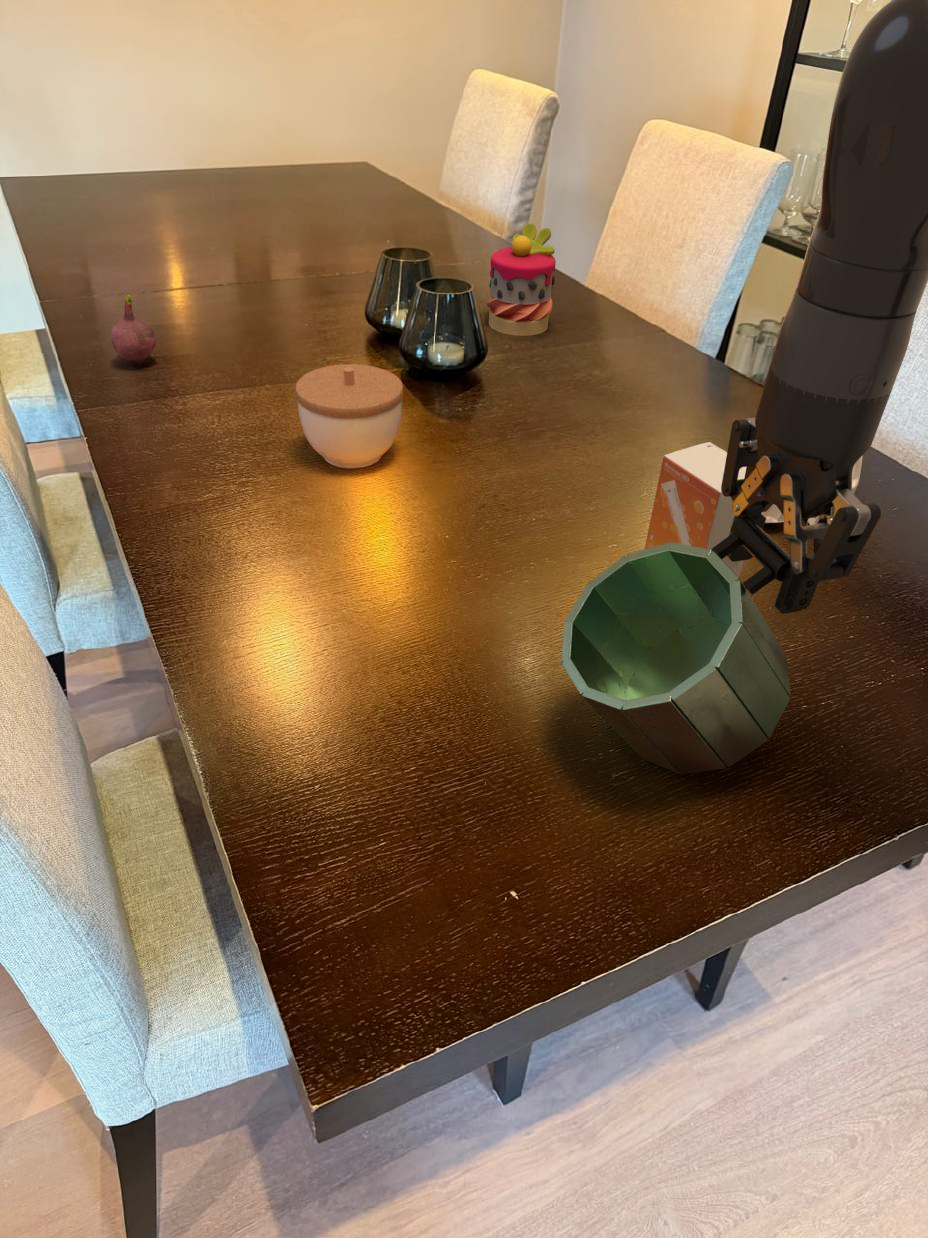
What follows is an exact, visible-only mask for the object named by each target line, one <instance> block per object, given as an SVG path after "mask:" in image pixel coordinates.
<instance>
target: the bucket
mask: <svg viewBox="0 0 928 1238" xmlns="http://www.w3.org/2000/svg"><path fill="white" fill-rule="evenodd" d="M741 545H742V546H743V547H744V548H745V549H746V550H747V551H748V552H749V553H750V554H751V555H752V556H753V557H752V558H754V559H755V560H756V561H757V562H758V563H759V564H760V565H761V566H762V568H761V569H760V570H759V571H757V572H756V573H754V574H753V575H752V576H750V577H748V578H747V579H746V580H744V581H743V582H742V580H741V579H740V576H739V577H738V576H737V575H736V574H735V573H734V572H733V571H732V570H731V569H730V568H729V567H728V566H727V565H726V563H725V562H724V561H723V560H722V559H723V558H724V557H726V556H727V555H728V554H730V553H731V552H733V551H734V550H735V549H737V548H738V547H739V546H741ZM787 567H790V553H788V552H787V551H786V550H784V548H782V546H780V545H779V544H778V543H777V542H776V541H775V540H774V539H773V538H772V537H771V536H770V535H769V534H768V533H766V531H764V529H763V530H762V529H761V528H760V527H759V526H758V525H757V524H756V523H755V522H754V521H753V520H752V519H751V518H749V517H741V518H739V519H737V520H736V521H735V522H734V523H733V524H732V526H731V535H730V536H728V537H727V538H725V539H724V540H723V541H721V542H720V543H719V544H717V545H716V546H715V547H713V548H712V549H711V550H709V549H704V548H699V547H693V546H688V545H683V544H678V543H673V542H672V543H671V544H670V543H666V544H662V545H659V546H655V547H651V548H648V549H645V548H644V549H641V550H637V551H633V552H630V553H627V554H626V555H623V556H621V557H620V558H619V559H618V560H616V561H615V562H614V563H612V564H611V565H610V566H608V567H607V568H606V569H605V570H603V571H602V572H600V573H599V574H598V575H596V576H595V577H594V578H592V580H590V581H589V582H588V584H586V585H585V586H584V588H583V589H582V591H581V593H580V595H579V597H578V598H577V600H576V601H575V603H574V605H573V606H572V607H571V609H570V611H569V613H568V614H567V616H566V618H565V620H564V622H563V628H562V629H563V630H562V641H561V643H562V644H561V654H560V655H561V657H560V662H561V665H562V668H563V669H564V670H565V672H566V673H567V675H568V677H569V679H570V680H571V682H572V684H573V685H574V686H575V688H576V690H577V692H578V693H579V695H580V696H581V697H582V699H584V700H585V701H586V702H587V703H588V704H589V705H590V706H591V707H592V708H593V709H594V710H595V712H597V713H598V714H599V716H600V717H602V719H603V720H604V721H605V722H606V723H607V724H608V725H609V726H610V727H611V728H612V729H613V730H614V731H615V732H616V733H617V734H618V735H619V737H620V738H622V739H623V740H624V741H625V742H626V743H627V745H628V746H629V747H630V748H631V749H632V750H633V751H634V752H635V753H636V754H637V755H638V756H639V757H640V758H641V759H642V760H644V761H647V762H649V763H652V764H654V765H656V766H658V767H661V768H664V769H666V770H668V771H671V772H673V773H675V774H678V775H680V774H681V775H687V774H694V773H702V772H708V771H716V770H724V769H727V767H728V768H730V767H731V766H733V765H734V764H736V763H737V762H739V761H741V760H742V759H743V758H744V757H746V756H748V755H749V754H751V753H752V752H754V750H757V748H759V747H761V746H762V745H764V744H765V743H766V742H768V741H769V739H771V737H772V735H773V734H774V732H775V729H776V727H777V725H778V724H779V721H780V719H781V717H782V716H783V714H784V712H785V710H786V709H787V706H788V705H789V703H790V700H791V696H792V695H791V684H790V675H789V663H788V662H789V661H788V657H787V655H786V653H785V651H784V650H783V648H782V646H781V644H780V643H779V641H778V639H777V637H776V636H775V635H774V633H773V631H772V629H771V628H770V626H769V625H768V623H767V621H766V620H765V618H764V617H763V616H764V615H762V613H761V611H760V610H759V608H758V606H757V605H756V603H755V601H754V600H753V598H752V596H753V595H755V594H756V593H757V592H759V591H760V590H761V589H763V588H765V587H766V586H767V585H768V584H770V583H771V582H773V581H774V580H776V581H778V582H783V579H784V576H785V573H786V570H787Z"/></svg>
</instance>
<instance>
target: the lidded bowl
mask: <svg viewBox="0 0 928 1238" xmlns="http://www.w3.org/2000/svg"><path fill="white" fill-rule="evenodd" d="M294 390H295V398H296V401H297V409H298V416H299V421H300V425H301V428H302V432H303V434H304V435H305V436H304V437H305V438H306V440H307V442H308V443H309V445H310V446H311V447H312V448H313V450H314V451H315V452H316V453H318V454H319V455H320V456H321V457H322V458H323V460H325V461H326V462H327V464H330V465H332V466H334V467H337V468H340V469H341V468H342V469H361V468H367V467H371V466H372V465H374V464H376V463H377V462H378V461H379V462H380V459H381V458H382V456H383V455H384V454H385V453H387V451H389V450H390V448H391V447H392V445H393V444H394V443H395V441H396V439H397V436H398V434H399V432H400V427H401V422H402V415H403V398H404V385H403V382H402V381H401V379H400V378H399V377H398V376H397V375H396V374H395V373H393V372H391V371H388V370H387V369H384V368H380V367H376V366H373V365H366V364H356V363H355V364H354V363H351V364H350V363H347V364H346V363H345V364H344V363H343V364H333V365H327V366H322V367H320V368H316V369H313V370H310V371H309V372H307V373H305V374H303V375H302V376H301V377H300V378H299V379H298V380H297V382H296V383H295V388H294Z"/></svg>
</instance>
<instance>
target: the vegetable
mask: <svg viewBox="0 0 928 1238" xmlns="http://www.w3.org/2000/svg"><path fill="white" fill-rule="evenodd" d="M132 303H133V300H132V296H131V294H126V298H125V299H124V307H123V308H124V314H123V317H122V318H121V319H120V320H118V321H117V322H116V323H115V324H114V325H113V327H112V329H111V332H110V341H111V345H112V347H113V349H114V351H115V352H116V353H117V355H119V356H121V357H122V358H123V359H125V360H128V361H132V362H135V363H136V364H142V363H143V362H144V361H146V360H147V359H148V358H149V356H150V355H151V354H152V352H153V351H154V349H155V347H156V343H157V336H156V332H155V330H154V328H153V326H151V324H149V323H148V322H146V321H145V320H143V319H142V318H139V317H136V316H135V315H134V313H133V307H132V305H133V304H132Z"/></svg>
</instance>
